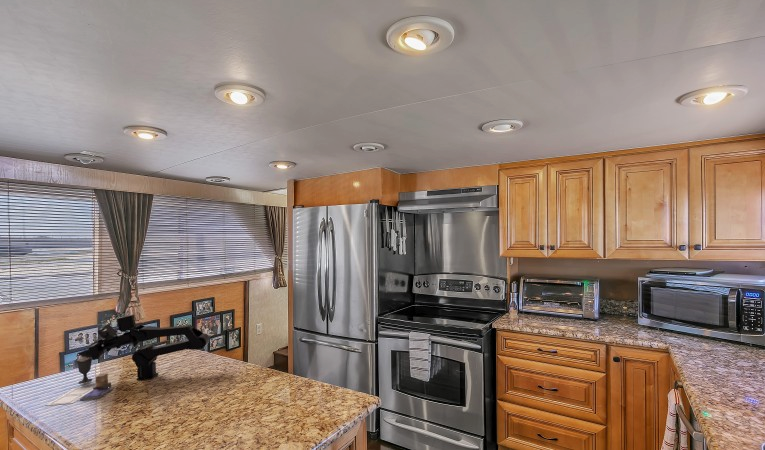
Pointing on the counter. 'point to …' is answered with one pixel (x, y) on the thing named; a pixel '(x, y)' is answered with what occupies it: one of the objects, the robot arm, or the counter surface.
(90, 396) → the ink pad
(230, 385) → the counter surface
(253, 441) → the counter surface
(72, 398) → the form sheet
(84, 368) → the sundae
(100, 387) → the stamp
